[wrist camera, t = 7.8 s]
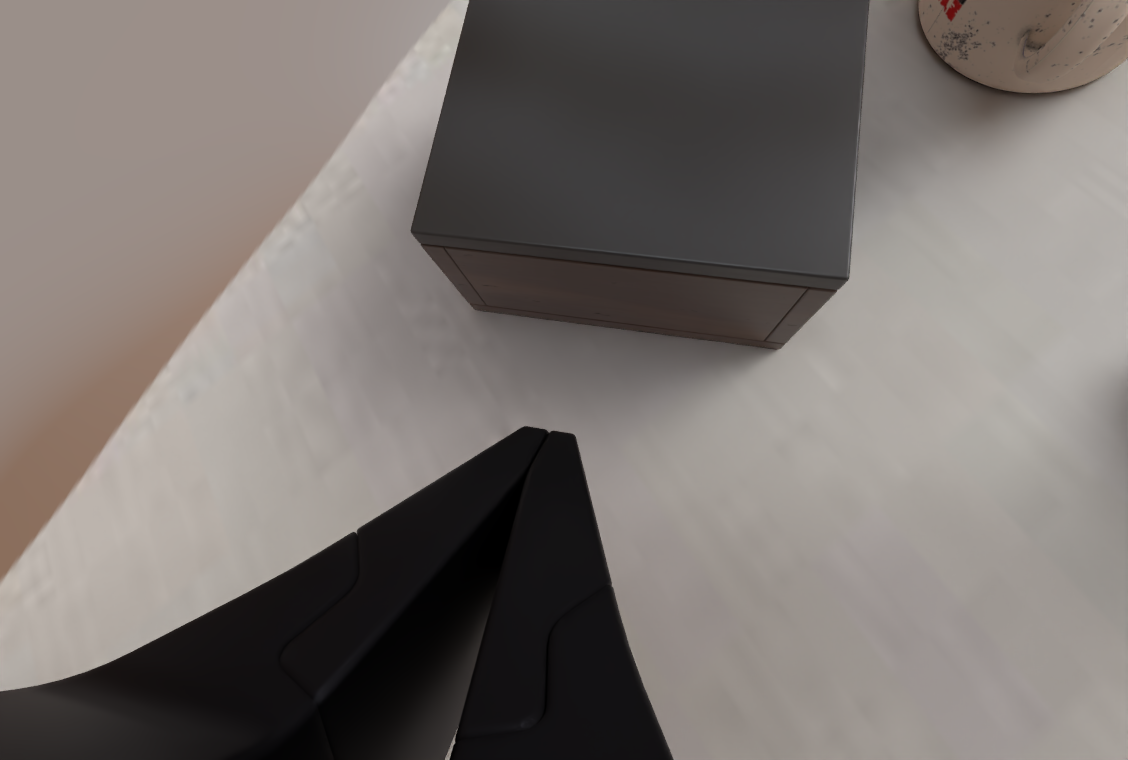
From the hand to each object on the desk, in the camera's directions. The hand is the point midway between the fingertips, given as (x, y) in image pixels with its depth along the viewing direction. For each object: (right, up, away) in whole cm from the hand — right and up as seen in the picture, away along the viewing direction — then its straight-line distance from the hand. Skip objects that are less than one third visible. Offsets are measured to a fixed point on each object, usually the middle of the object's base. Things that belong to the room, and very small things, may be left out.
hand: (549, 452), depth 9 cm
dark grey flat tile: (+3, +10, +8) cm, 13 cm away
